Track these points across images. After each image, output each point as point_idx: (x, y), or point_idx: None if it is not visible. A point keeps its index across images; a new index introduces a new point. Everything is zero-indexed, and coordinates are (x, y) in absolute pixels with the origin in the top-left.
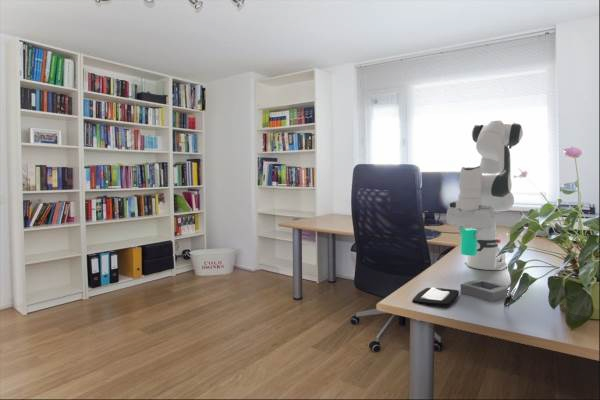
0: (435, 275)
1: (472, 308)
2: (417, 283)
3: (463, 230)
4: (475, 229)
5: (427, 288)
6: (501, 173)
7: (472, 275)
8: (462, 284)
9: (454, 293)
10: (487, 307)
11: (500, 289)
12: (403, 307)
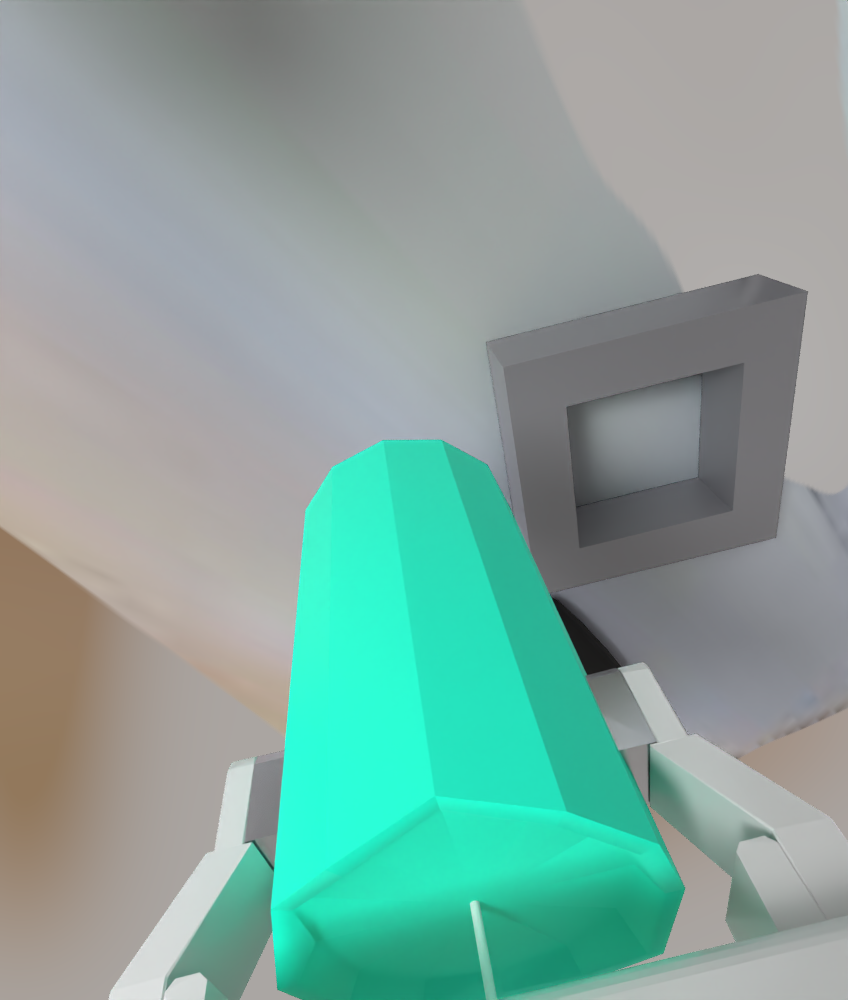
0: (52, 457)
1: (720, 644)
2: (254, 674)
3: (446, 993)
4: (542, 823)
5: None
6: None
7: (95, 49)
8: (551, 592)
9: (588, 662)
10: (761, 578)
11: (776, 440)
12: None
